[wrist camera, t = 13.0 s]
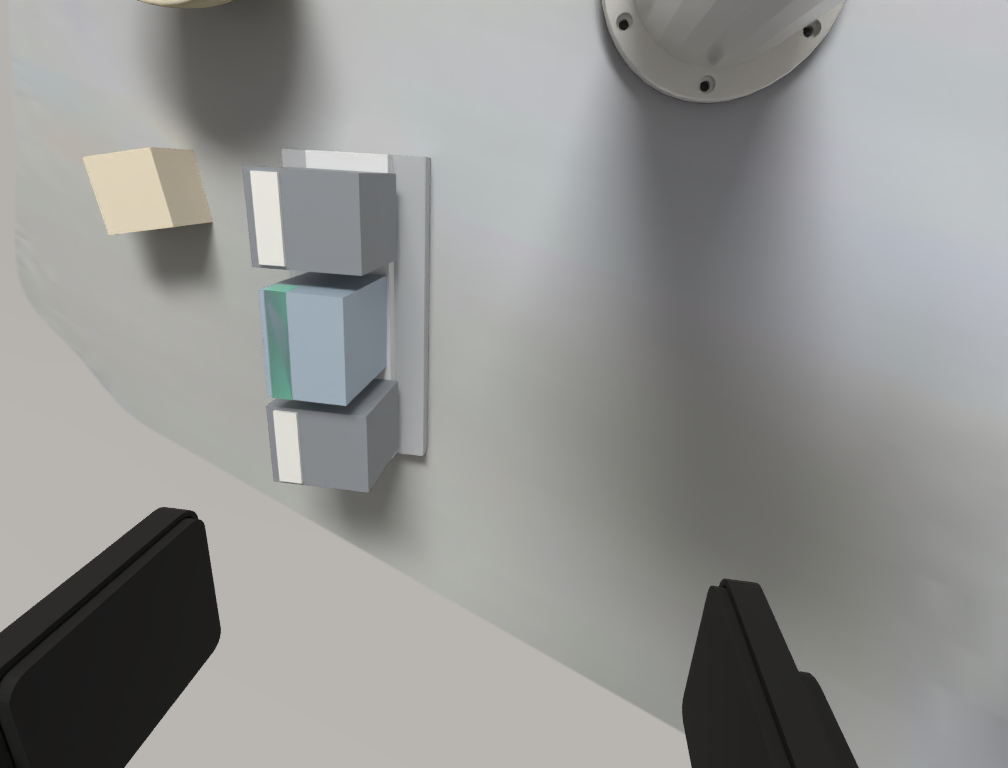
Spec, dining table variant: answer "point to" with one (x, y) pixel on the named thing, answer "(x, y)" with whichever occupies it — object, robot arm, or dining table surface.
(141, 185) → the beige cube
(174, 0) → the olive bowl
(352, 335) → the module
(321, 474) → the rail fixture
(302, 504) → the dining table surface
